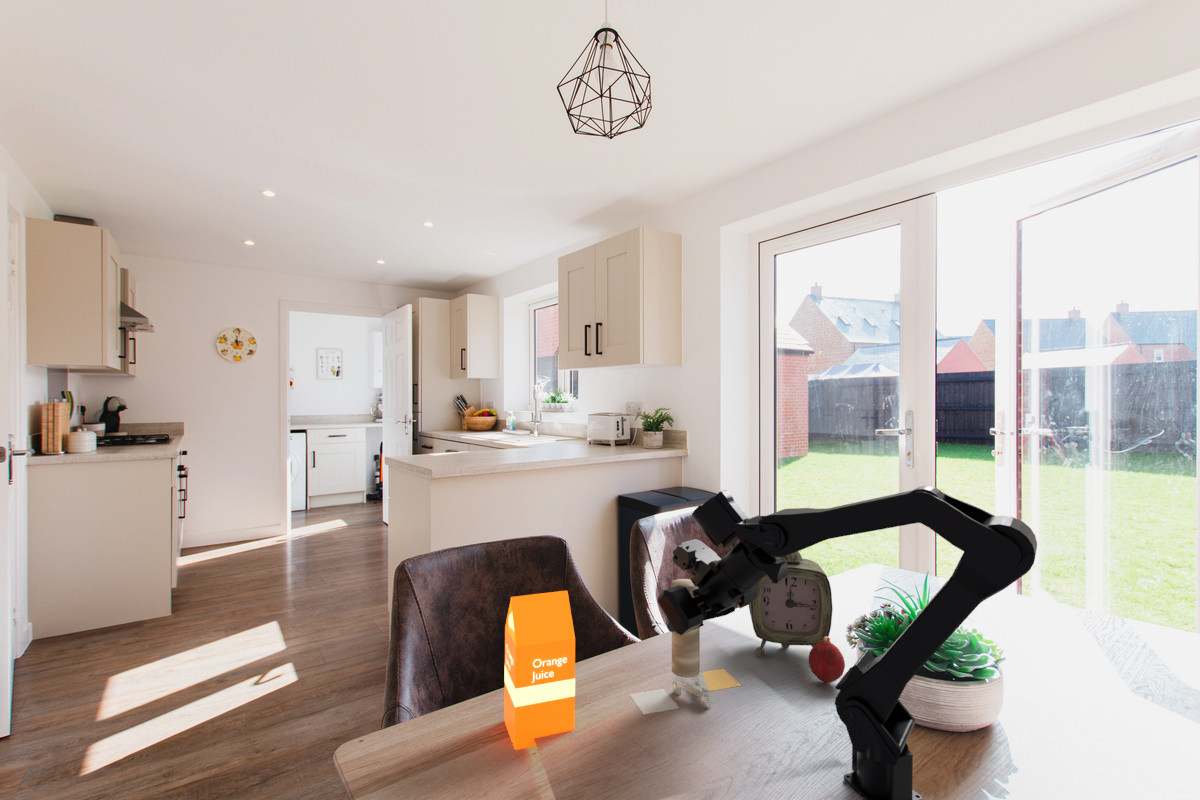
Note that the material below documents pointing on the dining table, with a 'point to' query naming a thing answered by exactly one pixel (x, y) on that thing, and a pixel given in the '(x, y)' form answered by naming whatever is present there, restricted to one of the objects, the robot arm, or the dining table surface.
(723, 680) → the board
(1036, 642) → the dining table surface
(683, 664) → the peg
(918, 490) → the robot arm
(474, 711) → the dining table surface
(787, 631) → the tabletop clock
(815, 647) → the onion
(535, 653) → the orange juice
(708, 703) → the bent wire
